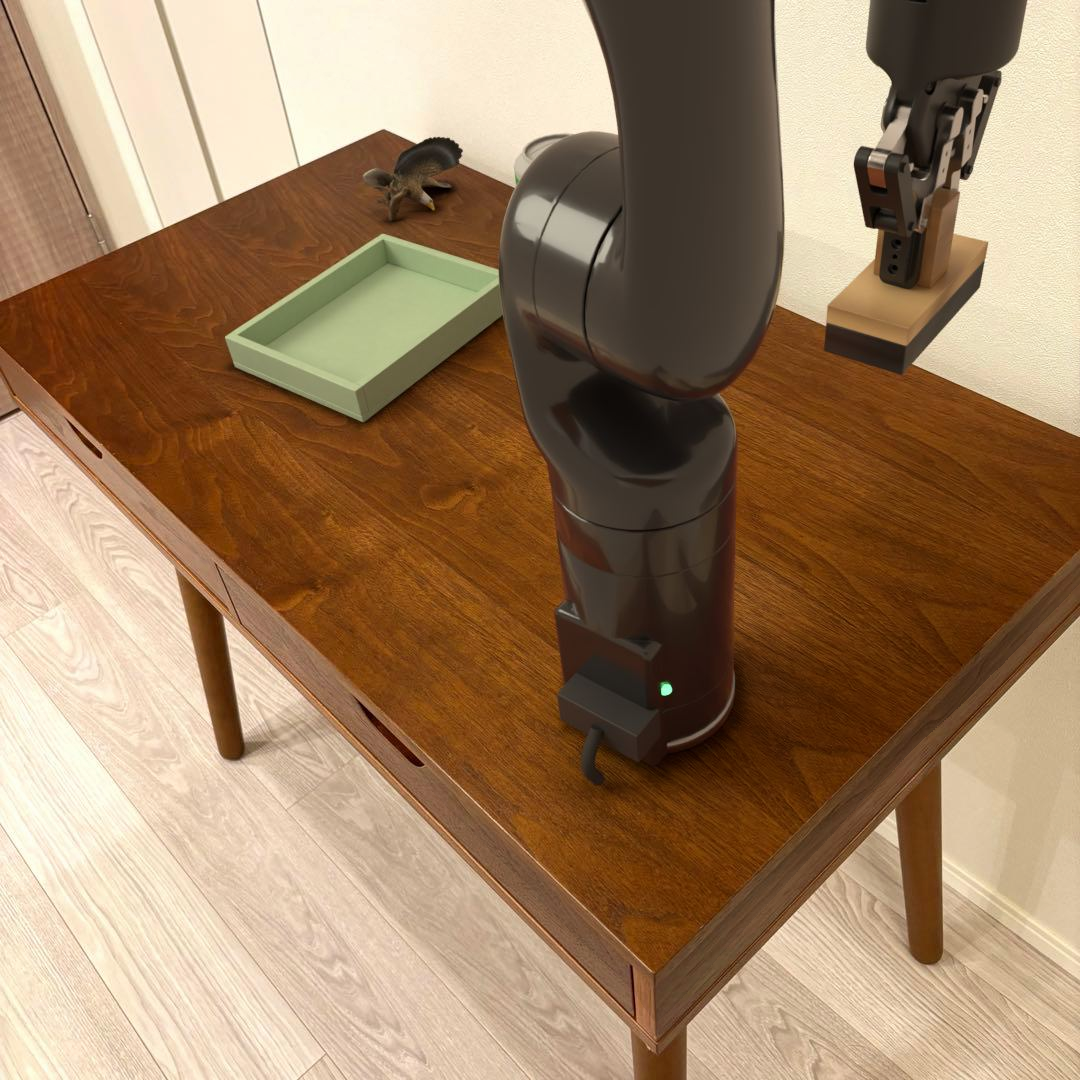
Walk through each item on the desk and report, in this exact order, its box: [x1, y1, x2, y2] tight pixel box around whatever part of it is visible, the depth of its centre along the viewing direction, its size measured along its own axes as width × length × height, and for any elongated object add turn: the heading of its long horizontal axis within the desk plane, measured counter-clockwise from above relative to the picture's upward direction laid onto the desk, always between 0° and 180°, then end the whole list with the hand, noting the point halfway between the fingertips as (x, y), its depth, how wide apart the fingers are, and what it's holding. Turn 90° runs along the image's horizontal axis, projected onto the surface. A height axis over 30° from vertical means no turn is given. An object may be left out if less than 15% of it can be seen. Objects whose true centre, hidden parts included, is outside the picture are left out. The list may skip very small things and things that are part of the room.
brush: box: [823, 188, 989, 376], centre depth 67 cm, size 11×5×8 cm, turn 142°
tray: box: [224, 233, 503, 423], centre depth 99 cm, size 20×16×3 cm
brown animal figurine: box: [362, 136, 464, 222], centre depth 115 cm, size 8×7×9 cm
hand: (909, 270), depth 68 cm, fingers closed on brush, 2 cm apart
